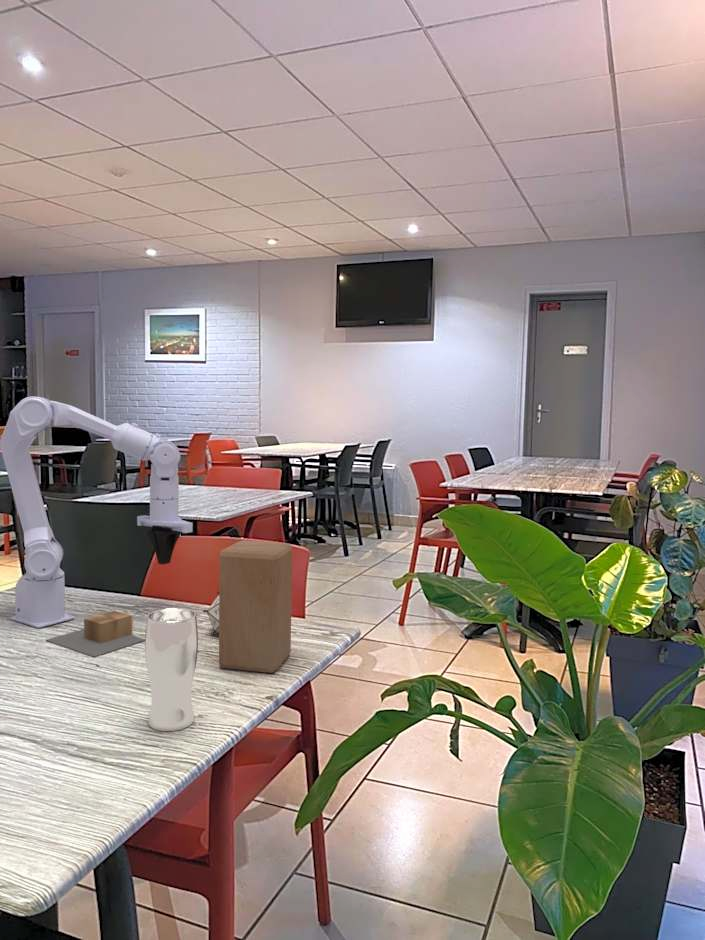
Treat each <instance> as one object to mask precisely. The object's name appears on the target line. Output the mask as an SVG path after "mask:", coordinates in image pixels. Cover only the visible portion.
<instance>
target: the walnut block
mask: <svg viewBox="0 0 705 940" xmlns="http://www.w3.org/2000/svg"><path fill="white" fill-rule="evenodd" d="M83 629H84V638H86V639H89V640H92V641H95V642H98V643H105V642H108V641H111V640H114V639H118V638H121V637H124V636H127V635H134V614H132V613H127V612H125V611H120V610H117V609H115V610H111V611H107V612H104V613H101V614H97V615H93V616H89V617H86V618H85V617H84V618H83Z"/></svg>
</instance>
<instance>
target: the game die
mask: <svg viewBox="0 0 705 940" xmlns="http://www.w3.org/2000/svg"><path fill="white" fill-rule="evenodd" d="M216 593H217V596H216V598H215V599H214V601H213V602H212V603H211V605H210V606H209V607H208V609H203V610H202V612H203V613H206V614H207V616H208V618H209V621H210V623H211V627H212V628H213V632H212V633H211V635H212V636H214V635H215V634H216V633H219V589H217V591H216Z"/></svg>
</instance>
